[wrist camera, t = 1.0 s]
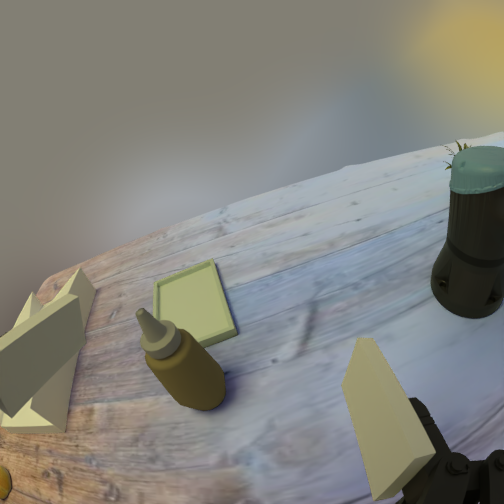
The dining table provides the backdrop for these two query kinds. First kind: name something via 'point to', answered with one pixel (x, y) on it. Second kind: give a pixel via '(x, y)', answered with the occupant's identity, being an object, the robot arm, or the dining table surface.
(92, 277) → the dining table surface
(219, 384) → the squeeze bottle
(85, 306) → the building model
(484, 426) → the dining table surface
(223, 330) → the tray
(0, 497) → the bread roll
